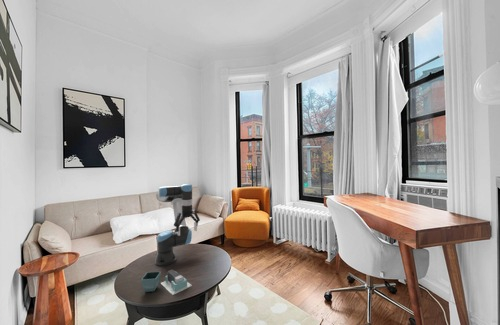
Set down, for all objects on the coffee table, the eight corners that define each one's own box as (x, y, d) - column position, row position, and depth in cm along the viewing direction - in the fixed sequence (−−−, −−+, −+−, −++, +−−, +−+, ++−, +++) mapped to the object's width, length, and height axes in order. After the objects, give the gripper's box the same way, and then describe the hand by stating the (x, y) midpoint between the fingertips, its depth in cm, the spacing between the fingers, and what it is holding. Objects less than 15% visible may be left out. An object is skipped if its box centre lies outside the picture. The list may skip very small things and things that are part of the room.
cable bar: (167, 280, 139) (166, 271, 139) (173, 277, 142) (173, 268, 142) (176, 289, 130) (176, 279, 130) (183, 286, 133) (182, 276, 133)
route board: (160, 283, 136) (160, 277, 136) (179, 275, 146) (179, 269, 146) (172, 295, 125) (172, 288, 125) (191, 285, 134) (191, 279, 134)
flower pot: (147, 285, 135) (146, 271, 135) (161, 284, 135) (160, 271, 135) (141, 294, 126) (140, 279, 126) (156, 293, 127) (155, 278, 127)
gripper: (173, 208, 145) (173, 238, 145) (204, 203, 162) (204, 230, 162) (168, 206, 150) (168, 235, 150) (199, 201, 167) (199, 227, 168)
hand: (187, 232), depth 156 cm, fingers open, 13 cm apart
